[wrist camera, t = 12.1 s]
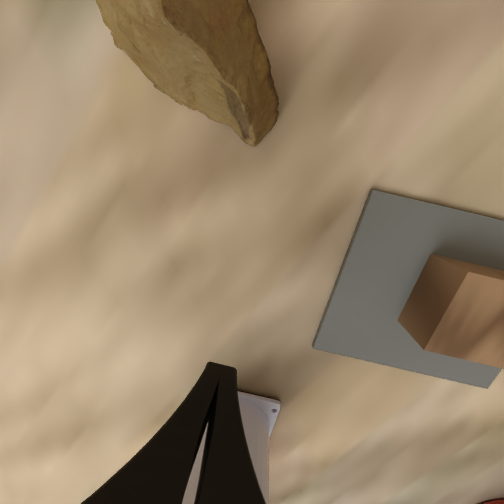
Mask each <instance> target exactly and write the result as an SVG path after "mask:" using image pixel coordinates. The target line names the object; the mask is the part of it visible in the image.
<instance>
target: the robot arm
mask: <svg viewBox="0 0 504 504" xmlns="http://www.w3.org/2000/svg"><path fill="white" fill-rule="evenodd" d="M280 408H281V404H280V402H279V401H278V400H274V399H270V398H265V397H261V396H257V395H252V394H248V393H244V392H239V391H238V390H237V370H236V368H234V367H230V366H226V365H222V364H218V363H214V362H208V363H207V365H206V367H205V369H204V371H203V373H202V375H201V376H200V378H199V379H198V381H197V383H196V384H195V386H194V387H193V388H192V390H191V391H190V393H189V394H188V395H187V397H186V398H185V400H184V401H183V402H182V403H181V405H180V406H179V407H178V408H177V410H176V411H175V412H174V413H173V415H172V416H171V417H170V418H169V419H168V421H167V422H166V423H165V424H164V425H163V426H162V427H161V429H160V430H159V431H158V432H157V433H156V434H155V435H154V436H153V437H152V438H151V439H150V441H149V442H148V443H147V444H146V445H145V446H144V447H143V448H142V449H141V450H140V451H139V452H138V453H137V454H136V455H135V456H134V457H133V458H132V459H131V460H130V461H129V462H128V463H126V464H125V465H124V466H123V467H122V468H121V469H120V470H119V471H118V472H117V473H116V474H114V475H113V476H112V477H111V478H110V479H109V480H108V481H107V482H106V483H104V484H103V485H102V486H101V487H100V488H99V489H98V490H97V491H95V492H94V493H93V494H92V495H91V496H90V497H88V498H87V499H86V500H85V501H83V502H82V503H81V504H269V438H270V436H271V433H272V430H273V427H274V424H275V422H276V419H277V416H278V413H279V411H280Z"/></svg>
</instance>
